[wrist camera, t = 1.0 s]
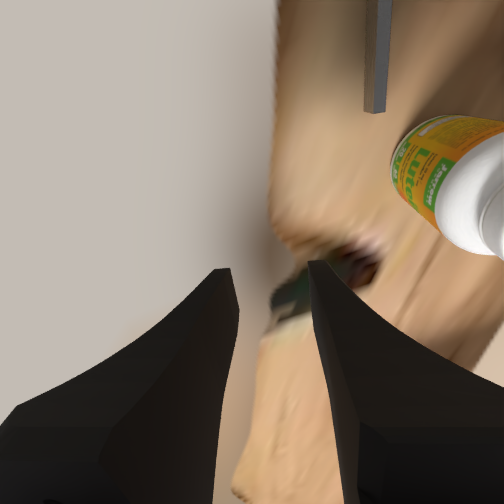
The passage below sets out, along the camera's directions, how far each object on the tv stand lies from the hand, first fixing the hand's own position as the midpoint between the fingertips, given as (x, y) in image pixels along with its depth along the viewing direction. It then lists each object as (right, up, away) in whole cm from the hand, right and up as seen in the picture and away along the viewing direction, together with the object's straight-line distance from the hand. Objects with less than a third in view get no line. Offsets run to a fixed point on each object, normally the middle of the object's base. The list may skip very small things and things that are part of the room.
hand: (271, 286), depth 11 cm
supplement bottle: (+11, +7, +7) cm, 15 cm away
